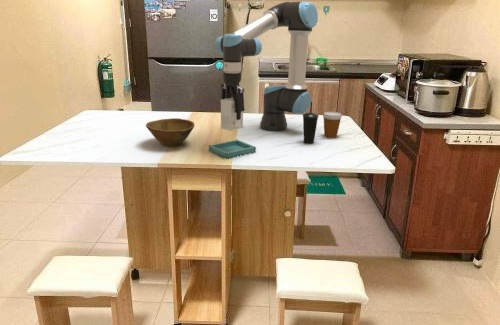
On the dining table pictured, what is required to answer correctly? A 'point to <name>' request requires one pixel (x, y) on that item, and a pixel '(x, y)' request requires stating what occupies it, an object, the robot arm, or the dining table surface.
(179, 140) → the bowl
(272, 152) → the dining table surface
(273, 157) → the dining table surface
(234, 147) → the tray
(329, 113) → the disposable coffee cup
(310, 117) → the drinking cup
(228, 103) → the small box
